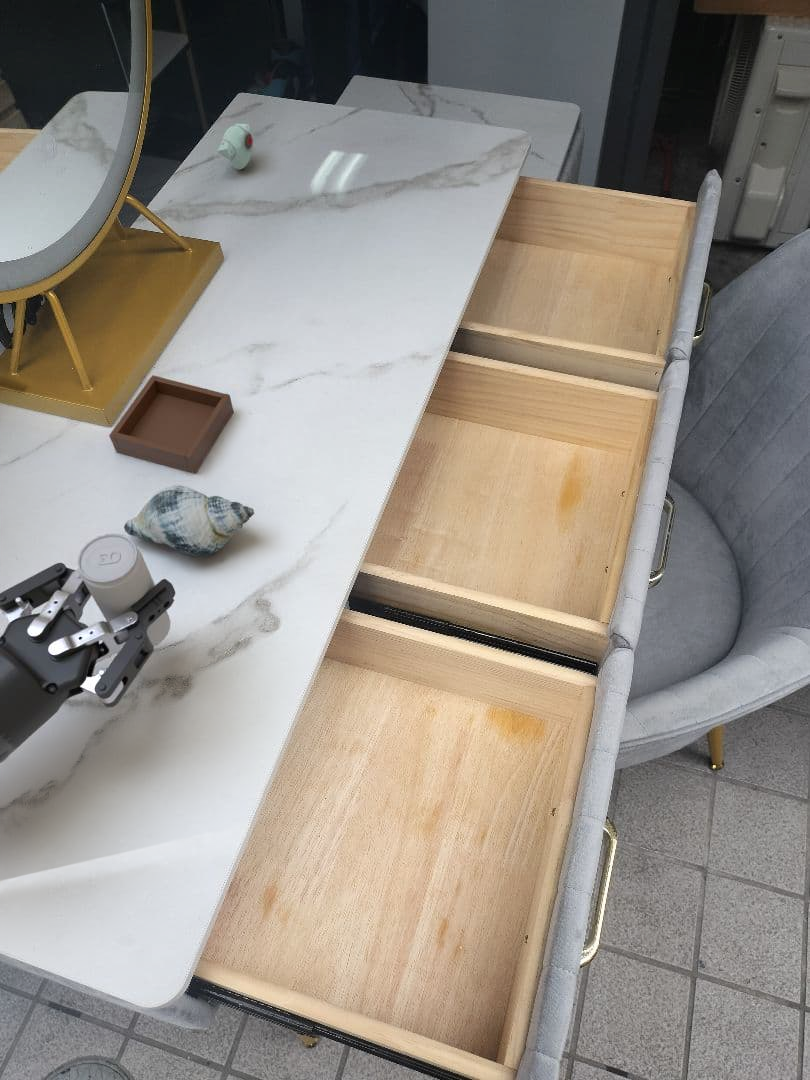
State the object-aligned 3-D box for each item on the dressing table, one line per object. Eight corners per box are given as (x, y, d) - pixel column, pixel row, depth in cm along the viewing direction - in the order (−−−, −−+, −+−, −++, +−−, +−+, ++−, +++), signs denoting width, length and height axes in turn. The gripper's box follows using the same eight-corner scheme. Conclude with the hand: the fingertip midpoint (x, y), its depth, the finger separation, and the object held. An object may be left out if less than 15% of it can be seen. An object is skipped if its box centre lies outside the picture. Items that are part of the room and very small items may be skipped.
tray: (116, 452, 92) (108, 435, 89) (158, 392, 97) (152, 374, 95) (195, 474, 90) (190, 457, 88) (234, 411, 95) (229, 394, 93)
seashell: (168, 507, 89) (256, 553, 86) (117, 534, 83) (209, 585, 80) (171, 456, 86) (263, 502, 82) (118, 481, 80) (215, 532, 76)
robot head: (242, 152, 126) (235, 109, 121) (266, 158, 126) (260, 114, 120) (218, 180, 122) (209, 136, 117) (242, 185, 121) (235, 141, 116)
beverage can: (116, 612, 74) (75, 537, 64) (170, 602, 75) (137, 527, 65) (118, 659, 72) (75, 588, 62) (173, 648, 72) (140, 577, 62)
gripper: (16, 758, 56) (199, 591, 63) (-104, 641, 60) (80, 498, 68) (53, 792, 62) (216, 636, 69) (-59, 683, 67) (105, 548, 74)
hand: (148, 569), depth 69 cm, fingers closed on beverage can, 4 cm apart
